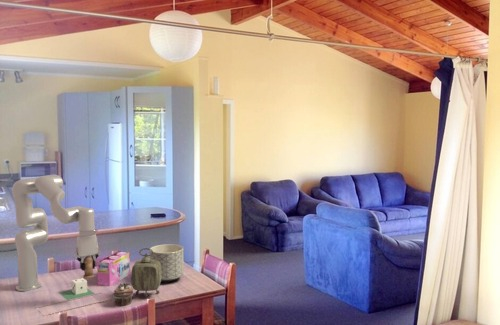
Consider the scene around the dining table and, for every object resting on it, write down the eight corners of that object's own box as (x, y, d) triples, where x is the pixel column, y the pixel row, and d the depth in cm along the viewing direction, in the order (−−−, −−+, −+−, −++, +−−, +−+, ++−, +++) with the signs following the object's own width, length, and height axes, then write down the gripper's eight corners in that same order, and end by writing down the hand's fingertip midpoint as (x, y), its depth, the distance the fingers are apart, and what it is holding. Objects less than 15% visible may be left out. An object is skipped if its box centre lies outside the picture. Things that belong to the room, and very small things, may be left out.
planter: (187, 274, 279) (186, 244, 277) (179, 285, 260) (178, 253, 259) (155, 273, 281) (155, 243, 279) (145, 284, 262) (145, 252, 261)
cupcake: (125, 298, 241) (124, 279, 240) (136, 302, 235) (136, 283, 234) (108, 303, 234) (108, 284, 233) (120, 308, 228) (120, 288, 227)
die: (71, 291, 250) (71, 280, 249) (83, 289, 254) (82, 278, 253) (75, 294, 245) (75, 283, 245) (87, 292, 249) (87, 280, 249)
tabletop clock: (162, 292, 250) (161, 246, 248) (159, 298, 241) (158, 250, 239) (134, 292, 249) (133, 246, 247) (130, 299, 240) (129, 250, 238)
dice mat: (58, 292, 249) (58, 292, 249) (85, 287, 257) (85, 286, 257) (67, 300, 238) (67, 300, 238) (94, 294, 247) (94, 293, 247)
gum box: (120, 272, 283) (119, 250, 282) (131, 273, 281) (131, 251, 280) (97, 285, 260) (96, 261, 259) (109, 286, 258) (109, 262, 257)
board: (35, 308, 227) (35, 307, 227) (101, 293, 248) (101, 292, 248) (43, 316, 218) (43, 316, 218) (111, 300, 239) (111, 299, 239)
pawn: (81, 277, 236) (81, 256, 235) (92, 275, 239) (91, 254, 239) (85, 279, 232) (84, 258, 231) (95, 277, 235) (94, 256, 235)
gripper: (100, 229, 243) (101, 264, 244) (67, 234, 232) (68, 270, 234) (106, 232, 237) (107, 267, 238) (72, 236, 227) (73, 274, 228)
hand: (87, 268), depth 236 cm, fingers closed on pawn, 4 cm apart
